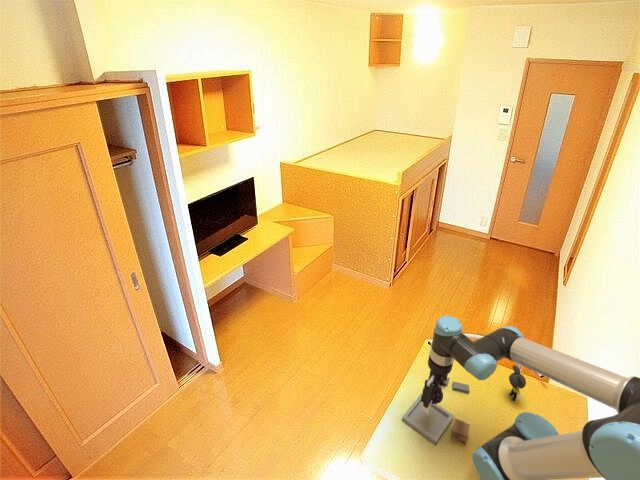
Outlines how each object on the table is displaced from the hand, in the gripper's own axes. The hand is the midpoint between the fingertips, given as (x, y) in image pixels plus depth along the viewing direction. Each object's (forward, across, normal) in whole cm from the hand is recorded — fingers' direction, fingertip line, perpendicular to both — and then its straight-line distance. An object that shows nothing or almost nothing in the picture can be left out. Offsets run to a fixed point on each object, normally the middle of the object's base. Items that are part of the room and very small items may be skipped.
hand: (430, 403), depth 124 cm
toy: (+9, -30, +19) cm, 37 cm away
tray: (+9, 0, 0) cm, 9 cm away
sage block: (+9, -18, -4) cm, 20 cm away
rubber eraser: (+9, -21, +3) cm, 23 cm away
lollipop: (+7, 0, 0) cm, 7 cm away
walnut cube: (+9, -2, +11) cm, 14 cm away
